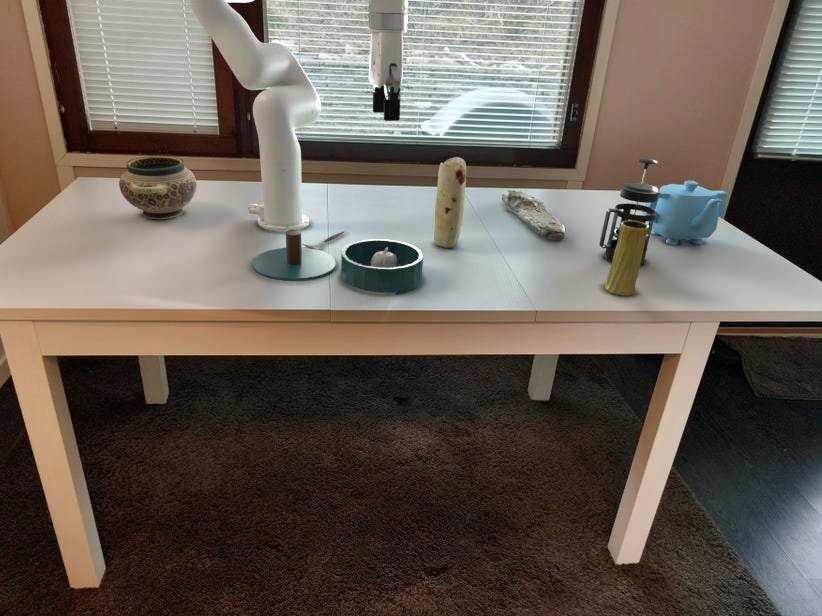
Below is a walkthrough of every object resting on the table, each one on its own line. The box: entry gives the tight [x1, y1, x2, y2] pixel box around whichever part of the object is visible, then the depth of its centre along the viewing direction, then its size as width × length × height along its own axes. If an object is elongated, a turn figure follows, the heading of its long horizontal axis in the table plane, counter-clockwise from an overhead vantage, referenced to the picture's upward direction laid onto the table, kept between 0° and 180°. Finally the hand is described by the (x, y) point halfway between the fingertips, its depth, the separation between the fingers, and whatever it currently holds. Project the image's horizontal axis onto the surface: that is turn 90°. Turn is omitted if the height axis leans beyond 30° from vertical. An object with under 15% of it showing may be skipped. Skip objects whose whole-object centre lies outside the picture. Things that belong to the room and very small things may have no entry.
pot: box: [340, 238, 424, 295], centre depth 134 cm, size 17×17×6 cm
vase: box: [604, 220, 649, 297], centre depth 132 cm, size 6×6×14 cm
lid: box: [251, 229, 337, 282], centre depth 136 cm, size 18×18×8 cm
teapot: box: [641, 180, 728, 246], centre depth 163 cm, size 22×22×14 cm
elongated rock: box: [501, 189, 566, 241], centre depth 174 cm, size 35×5×10 cm
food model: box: [433, 156, 467, 249], centre depth 150 cm, size 10×7×20 cm
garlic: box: [370, 247, 398, 268], centre depth 135 cm, size 6×5×5 cm
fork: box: [302, 231, 345, 250], centre depth 151 cm, size 3×16×2 cm, turn 152°
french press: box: [598, 158, 662, 267], centre depth 146 cm, size 12×9×23 cm
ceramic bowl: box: [118, 155, 198, 220], centre depth 160 cm, size 24×18×15 cm
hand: (385, 116), depth 135 cm, fingers open, 9 cm apart
